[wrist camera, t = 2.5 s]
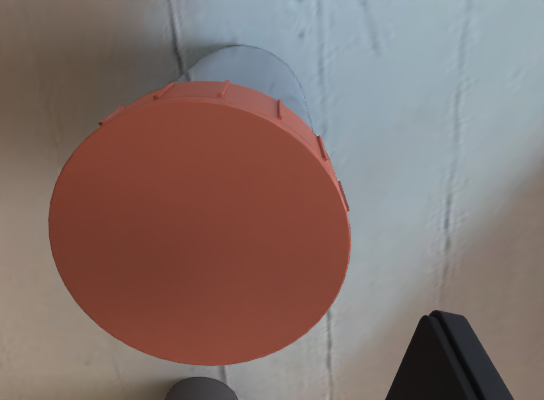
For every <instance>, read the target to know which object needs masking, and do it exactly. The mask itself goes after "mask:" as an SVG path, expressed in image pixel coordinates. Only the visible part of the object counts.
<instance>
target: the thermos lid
mask: <svg viewBox="0 0 544 400" xmlns="http://www.w3.org/2000/svg"><path fill="white" fill-rule="evenodd" d="M98 124H99V125H100V127H99V128H98V129H97V130H95V131H94V132H93V133H92V134H90V135H89V136H88V137H86V139H85V140H84V141H83V142H82V143H81V144H80V145H79V146H78V147H77V148H76V149H75V150H74V152H73V153H72V154H71V156H70V157H69V159H68V161H67V162H66V164H65V165H64V167H63V168H62V170H61V173H60V175H59V177H58V179H57V181H56V184H55V187H54V190H53V194H52V198H51V201H50V210H49V219H48V222H49V239H50V245H51V250H52V255H53V258H54V261H55V264H56V267H57V270H58V272H59V274H60V276H61V278H62V280H63V282H64V284H65V286H66V288H67V289H68V291H69V292H70V294H71V295H72V297H73V298H74V300H75V301H76V302H77V304H78V305H79V306H80V307H81V308H82V309H83V311H84V312H85V313H86V314H87V315H88V316H89V317H90V318H91V319H92V320H93V321H94V322H96V323H97V324H98V325H99V326H100V327H101V328H103V329H104V330H105V331H107V332H108V333H109V334H111V335H112V336H113V337H115V338H117V339H118V340H120V341H122V342H123V343H125V344H127V345H128V346H130V347H133V348H135V349H137V350H139V351H141V352H144V353H146V354H149V355H152V356H155V357H158V358H161V359H164V360H169V361H173V362H177V363H184V364H191V365H209V366H215V365H229V364H236V363H241V362H247V361H251V360H254V359H258V358H261V357H264V356H267V355H269V354H271V353H274V352H276V351H279V350H281V349H282V348H284V347H286V346H288V345H290V344H291V343H293V342H295V341H296V340H297V339H299V338H300V337H302V336H303V335H304V334H306V333H307V332H308V331H309V330H310V329H311V328H312V327H313V326H314V325H316V324H317V323H318V322H319V321H320V319H321V318H322V317H323V316H324V315H325V313H326V312H327V311H328V310H329V308H330V307H331V305H332V303H333V302H334V300H335V298H336V297H337V295H338V293H339V291H340V289H341V286H342V284H343V282H344V279H345V276H346V272H347V268H348V265H349V259H350V250H351V234H350V224H349V219H348V214H347V211H349V207H348V204H347V201H346V198H345V195H344V192H343V189H342V186H341V183H340V181H337V178H336V175H335V172H334V169H333V166H332V164H331V161H330V158H329V156H328V154H327V153H326V151H325V148H324V145H323V142H322V138H321V137H320V136H318V137H317V136H316V135H315V133H314V132H313V131H312V130H311V129H310V127H309V126H308V125H307V124H306V123H305V122H304V121H303V120H302V119H301V118H300V117H299V116H298V115H296V114H295V113H294V112H293V111H292V110H290V109H289V108H288V107H287V106H285V105H283V101H282V100H281V99H279V100H278V101H277V100H275V99H274V98H272V97H270V96H268V95H266V94H263V93H261V92H259V91H257V90H254V89H251V88H248V87H244V86H241V85H238V84H232V83H230V80H225V82H220V81H193V82H183V83H178V84H174V82H170V83H168V84H167V85H166V86H165V87H163V88H160V89H158V90H155V91H153V92H150V93H148V94H146V95H144V96H143V97H141V98H139V99H138V100H136V101H134V102H133V103H131V104H130V105H128V106H127V107H126V106H125V105H123V106H121V107H120V108H119V109H117V110H116V111H114V112H113V113H112V114H110V115H109V116H108V117H106V118H105V119H103V120H102V121H101V122H99V123H98Z"/></svg>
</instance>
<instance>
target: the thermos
mask: <svg viewBox="0 0 544 400" xmlns="http://www.w3.org/2000/svg"><path fill="white" fill-rule="evenodd" d="M225 80H230V83H232V84H238V85H241V86H244V87H248V88H251V89H254V90H257V91H259V92H261V93H263V94H266V95H268V96H270V97H272V98H274V99H275V100H277V101H278V100H279V99H281V100H282V101H283V105H285V106H287V107H288V108H289V109H290V110H292V111H293V112H294V113H295V114H296V115H298V116H299V117H300V118H301V119H302V120H303V121H304V122H305V123H306V124H307V125H308V126H309V127H310V129H311V130H312V131H313V128H312V124H311V121H310V117H309V113H308V109H307V105H306V102H305V98H304V94H303V91H302V88H301V85H300V83H299V82H298V80H297V78H296V76H295V75H294V73H293V72H292V70H291V69H290V68H289V67H288V66H287V65H286V64H285V63H284V62H283V61H281V60H280V59H279V58H278V57H276V56H274V55H273V54H271V53H269V52H267V51H265V50H262V49H259V48H256V47H250V46H229V47H225V48H221V49H218V50H216V51H213V52H211V53H210V54H208V55H206V56H204V57H203V58H202V59H201V60H199V61H198V62H197V63H196V64H195V65H193V66H192V67H191V68H190V69H189V70H187V71H186V72H185V73H184V74H183V75H181V76H180V77H179V78H178V79H177V80H175V81H174V84H178V83H183V82H193V81H220V82H225Z"/></svg>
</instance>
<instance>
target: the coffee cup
mask: <svg viewBox="0 0 544 400" xmlns="http://www.w3.org/2000/svg"><path fill="white" fill-rule="evenodd" d="M165 400H238V399H237V397H236V395H235V393H234V392H233V391H232V390H231V389H230V388H229V387H228V386H227V385H225V384H223V383H221V382H219V381H217V380H214V379H209V378H205V377H204V378H190V379H186V380H182V381H181V382H179V383H177V384H176V385H174V386H173V387H172V388H171V389H170V391H169V392H168V393H167V395H166V398H165Z"/></svg>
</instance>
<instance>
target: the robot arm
mask: <svg viewBox="0 0 544 400" xmlns="http://www.w3.org/2000/svg"><path fill="white" fill-rule="evenodd" d="M385 400H514V399H513V397H512V395H511V394H510V392H509V390H508V389H507V387H506V385H505V384H504V382H503V380H502V379H501V377H500V375H499V373H498V372H497V370H496V368H495V367H494V365H493V363H492V362H491V360H490V358H489V356H488V355H487V353H486V351H485V350H484V348H483V346H482V345H481V343H480V341H479V340H478V338H477V336H476V334H475V333H474V331H473V329H472V328H471V326H470V324H469V323H468V321H467V319H466V318H465V317H464V316H462V315H458V314H453V313H448V312H443V311H438V310H435V311H432V312H431V313H430V315H429V316H427V315H425V316H423V317H422V318H421V319H420V321H419V323H418V325H417V328H416V330H415V332H414V335H413V337H412V339H411V342H410V344H409V346H408V348H407V351H406V353H405V355H404V358H403V360H402V362H401V365H400V367H399V369H398V372H397V374H396V376H395V378H394V381H393V383H392V385H391V388H390V390H389V392H388V395H387V397H386V399H385Z"/></svg>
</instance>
